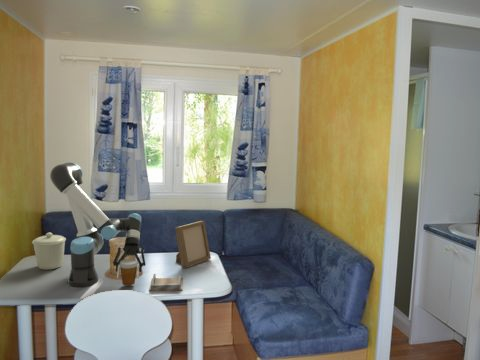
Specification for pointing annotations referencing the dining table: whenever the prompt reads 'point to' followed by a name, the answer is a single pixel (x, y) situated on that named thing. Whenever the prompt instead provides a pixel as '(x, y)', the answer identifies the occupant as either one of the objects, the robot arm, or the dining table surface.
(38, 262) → the canister
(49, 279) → the dining table surface
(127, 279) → the disposable coffee cup
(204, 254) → the photo frame
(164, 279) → the rail cradle
